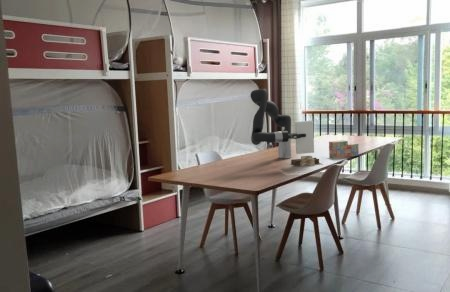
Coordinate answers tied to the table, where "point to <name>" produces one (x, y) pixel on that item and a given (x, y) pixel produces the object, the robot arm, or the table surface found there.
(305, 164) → the offcut stack
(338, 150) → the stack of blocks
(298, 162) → the walnut rack
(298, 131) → the tall board
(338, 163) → the table surface
